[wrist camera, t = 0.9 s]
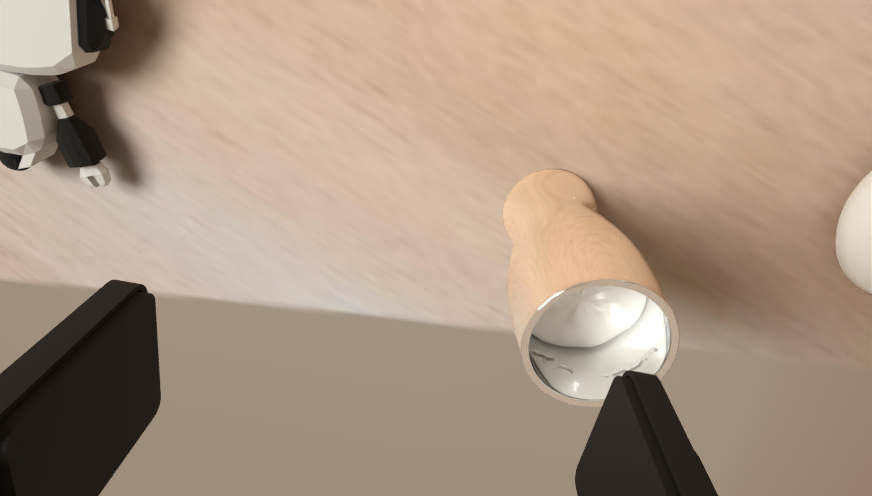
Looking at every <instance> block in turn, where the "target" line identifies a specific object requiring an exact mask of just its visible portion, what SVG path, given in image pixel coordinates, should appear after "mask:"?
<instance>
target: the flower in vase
mask: <svg viewBox="0 0 872 496" xmlns="http://www.w3.org/2000/svg"><path fill="white" fill-rule="evenodd" d="M835 244H836V254H837V258H838V262H839V264H840V266H841V269H842V271H843V272H844V273H845V275H846V276H847V278H848V279H849V280H850V281H851V282H852V283H853V284H854V285H856V286H857V287H859V288H860V289H862V290H864V291H866V292H868V293H870V294H872V170H871V171H870V172H869V173H868V174H867V175H866V176H865V177H864V178H863V179H862V180H861V181H860V182H859V184H858V185H857V186H856V187H855V189H854V190H853V191H852V193H851V194H850V196H849V197H848V199H847V201H846V203H845V205H844V207H843V209H842V212H841V214H840V217H839V221H838V225H837V231H836V242H835Z"/></svg>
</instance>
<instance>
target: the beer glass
mask: <svg viewBox="0 0 872 496" xmlns="http://www.w3.org/2000/svg"><path fill="white" fill-rule="evenodd" d="M503 222H504V226H505V229H506V232H507V234H508V236H509V237H510V239H511V240H512V242H513V248H512V252H511V257H510V262H509V270H508V281H507V290H508V302H509V309H510V314H511V319H512V324H513V328H514V331H515V335H516V338H517V342H518V345H519V348H520V351H521V357H522V362H523V365H524V368H525V370H526V372H527V374H528V376H529V377H530V379H531V380H532V381H533V383H534V384H535V385H536V386H537V387H538V388H539V389H540V390H542V391H543V392H544V393H546V394H547V395H549V396H550V397H552V398H554V399H556V400H559V401H561V402H564V403H567V404H570V405H575V406H582V407H602V405H603V403H604V401H605V398H606V396H607V393H608V391H609V388H610V386H611V384H612V381H613V379H614V378H615V377H616V376H622V375H623V374H624V373H625V372H626V371H628V370H631V371H636V372H642V373H648V374H653V375H656V376H657V377H658V378H659V380H661V379H662V378H663V377H664V375H665V374H666V373H667V372H668V370H669V369H670V367H671V365H672V364H673V362H674V360H675V357H676V355H677V351H678V347H679V327H678V323H677V320H676V317H675V315H674V313H673V311H672V309H671V308H670V306H669V305H668V303H667V300H666V298H665V296H664V293H663V291H662V289H661V287H660V285H659V283H658V281H657V279H656V277H655V275H654V273H653V272H652V270H651V268H650V266H649V265H648V263H647V261H646V260H645V258H644V257H643V256H642V254H641V253H640V252H639V250H638V249H637V248H636V246H635V245H634V244H633V242H632V241H631V240H630V239H629V238H628V237H627V236H626V235H625V234H623V233H622V232H621V231H620V230H619V229H618V228H617V227H616V226H614V225H613V224H612V223H611V222H609V221H608V220H607V219H605V218H604V217H603V216H601V215H600V214H598V213H597V206H596V201H595V198H594V195H593V193H592V191H591V189H590V188H589V186H588V185H587V184H586V183H585V182H584V181H583V180H582V179H581V178H579V177H578V176H576V175H574V174H572V173H570V172H567V171H564V170H559V169H547V170H541V171H537V172H534V173H532V174H530V175H528V176H526V177H524V178H523V179H522V180H520V181H519V182H518V183H517V184H516V185H515V186H514V187H513V188H512V190H511V191H510V193H509V194H508V196H507V198H506V201H505V204H504V208H503Z"/></svg>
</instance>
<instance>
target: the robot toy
mask: <svg viewBox="0 0 872 496" xmlns="http://www.w3.org/2000/svg"><path fill="white" fill-rule="evenodd" d="M117 28H119V24H118V18H117V16H114V12H113V5H112V0H0V160H1V162H2V163H3V164H4V165H5V166H6V167H8V168H10V169H13V170H18V171H22V170H26V169H28V168H30V167H31V166H33V165H35V164H36V163H38V162H40V161H42V160H44V159H46V158H48V157H50V156H52V155H53V154H55V152H56V150H57V147H58V146H59V148H60V150H61V152H62V154H63V156H64V157H65V159H66V161H67V163H68V165H69V167H80V178H81V179H82V180H83V182H84V183H85V184H86V185H87V186H89V187H92V188H95V187H98V186H99V185H100V187H103V186H106V185H108V184H109V182H110V181H111V177H110V173H109V169H108V168H106V167H105V166H104V165H103V164H102V163H101V162H100V160H102V159H103V158H104V157H106V156H107V155H106V153H105V151H104V149H103V146H102V144H101V142H100V140H99V138H98V136H97V134H96V132H95V130H94V129H93V128H92V127H90V126H89V125H88V124H87V123H85V122H84V121H83V120H81V119H80V118H78V117H77V116H75V115H74V113H73V111H72V109H71V107H70V105H69V103H68V101H70V100H71V99H72V98H73V95H72V92H71V90H70V88H69V86H68V84H67V82H66V80H59V79H58V78H57V77H56V75H59V74H63V73H66V72H69V71H72V70H75V69H78V68H80V67H83V66H85V65H88V64H90V63H93V62H95V61H96V59H97V57H98V55H99V52H100V51H101V50H104V49H107V48H109V44H110V41H111V39H112V36H113V34H114V31H115V30H116V29H117Z"/></svg>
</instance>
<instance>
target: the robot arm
mask: <svg viewBox="0 0 872 496" xmlns="http://www.w3.org/2000/svg"><path fill="white" fill-rule="evenodd" d="M160 400H161V392H160V375H159V358H158V340H157V323H156V306H155V297H154V295H153V294H151V293H148V292H147V289H146V287H145V286H144V285H142V284H137V283H131V282H125V281H120V280H111V281H109V282H108V283H106V284H105V285H104V286H103V287H102V288H101V289H99V290H98V291H97V292H96V293H95V294H94V295H92V296H91V297H90V298H89V299H88V300H87V301H85V302H84V303H83V304H82V305H81V306H80V307H78V308H77V309H76V310H75V311H74V312H72V313H71V314H70V315H69V316H68V317H67V318H65V319H64V320H63V321H62V322H61V323H59V324H58V325H57V326H56V327H55V328H54V329H53V330H51V331H50V332H49V333H48V334H47V335H46V336H44V337H43V338H42V339H41V340H40V341H38V342H37V343H36V344H35V345H34V346H33V347H31V348H30V349H29V350H28V351H27V352H26V353H24V354H23V355H22V356H21V357H20V358H19V359H17V360H16V361H15V362H14V363H13V364H11V365H10V366H9V367H8V368H7V369H6V370H4V371H3V372H2V373H1V374H0V496H98V495H99V494H100V493H101V491H102V490H103V488H104V487H105V485H106V484H107V483H108V481H109V480H110V479H111V477H112V476H113V474H114V473H115V471H116V470H117V469H118V467H119V466H120V464H121V463H122V462H123V460H124V459H125V457H126V456H127V454H128V453H129V452H130V450H131V449H132V447H133V446H134V445H135V443H136V442H137V440H138V439H139V438H140V436H141V435H142V433H143V432H144V430H145V429H146V428H147V426H148V425H149V423H150V422H151V421H152V419H153V418H154V416H155V415H156V413H157V411H158V408H159V405H160ZM575 484H576V490H577V494H578V496H718V495H717V493H716V491H715V489H714V487H713V484H712V482H711V480H710V478H709V476H708V474H707V472H706V470H705V468H704V466H703V464H702V462H701V460H700V458H699V456H698V455H697V453H696V452H695V451H694V449H693V447H692V445H691V443H690V441H689V439H688V437H687V435H686V433H685V431H684V429H683V427H682V425H681V423H680V421H679V419H678V417H677V414H676V412H675V410H674V408H673V406H672V404H671V402H670V400H669V398H668V396H667V394H666V392H665V390H664V388H663V386H662V384H661V382H660V380H659V378H658V377H657V376H656V375H653V374H648V373H642V372H636V371H631V370H628V371H626V372H625V373H624V374H623V375H622V376H616V377H615V378H614V379H613V381H612V384H611V386H610V388H609V391H608V393H607V396H606V398H605V401H604V403H603V405H602V408H601V410H600V413H599V415H598V418H597V420H596V422H595V425H594V427H593V430H592V432H591V435H590V437H589V439H588V442H587V444H586V447H585V449H584V452H583V454H582V456H581V459H580V461H579V464H578V466H577V469H576V475H575Z"/></svg>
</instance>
